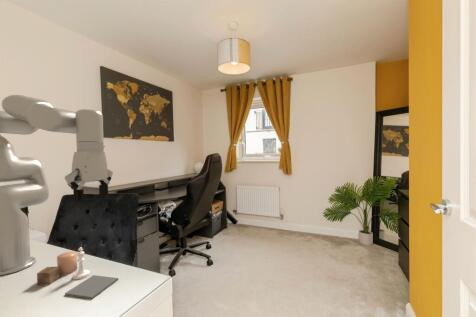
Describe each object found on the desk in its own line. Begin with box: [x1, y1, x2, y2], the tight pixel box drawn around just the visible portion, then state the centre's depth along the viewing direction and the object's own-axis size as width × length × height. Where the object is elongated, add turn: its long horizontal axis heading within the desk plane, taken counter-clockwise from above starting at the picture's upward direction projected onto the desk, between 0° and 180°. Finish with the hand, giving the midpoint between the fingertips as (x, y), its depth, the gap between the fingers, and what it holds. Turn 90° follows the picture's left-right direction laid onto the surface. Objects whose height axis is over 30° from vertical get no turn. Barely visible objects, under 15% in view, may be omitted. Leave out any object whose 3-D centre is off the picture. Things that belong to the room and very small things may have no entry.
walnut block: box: [36, 266, 60, 286], centre depth 74 cm, size 4×4×4 cm
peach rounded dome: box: [56, 251, 78, 276], centre depth 80 cm, size 6×6×6 cm
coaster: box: [64, 274, 119, 300], centre depth 70 cm, size 10×10×1 cm
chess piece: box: [72, 246, 91, 280], centre depth 77 cm, size 5×5×10 cm
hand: (92, 198), depth 74 cm, fingers open, 9 cm apart
